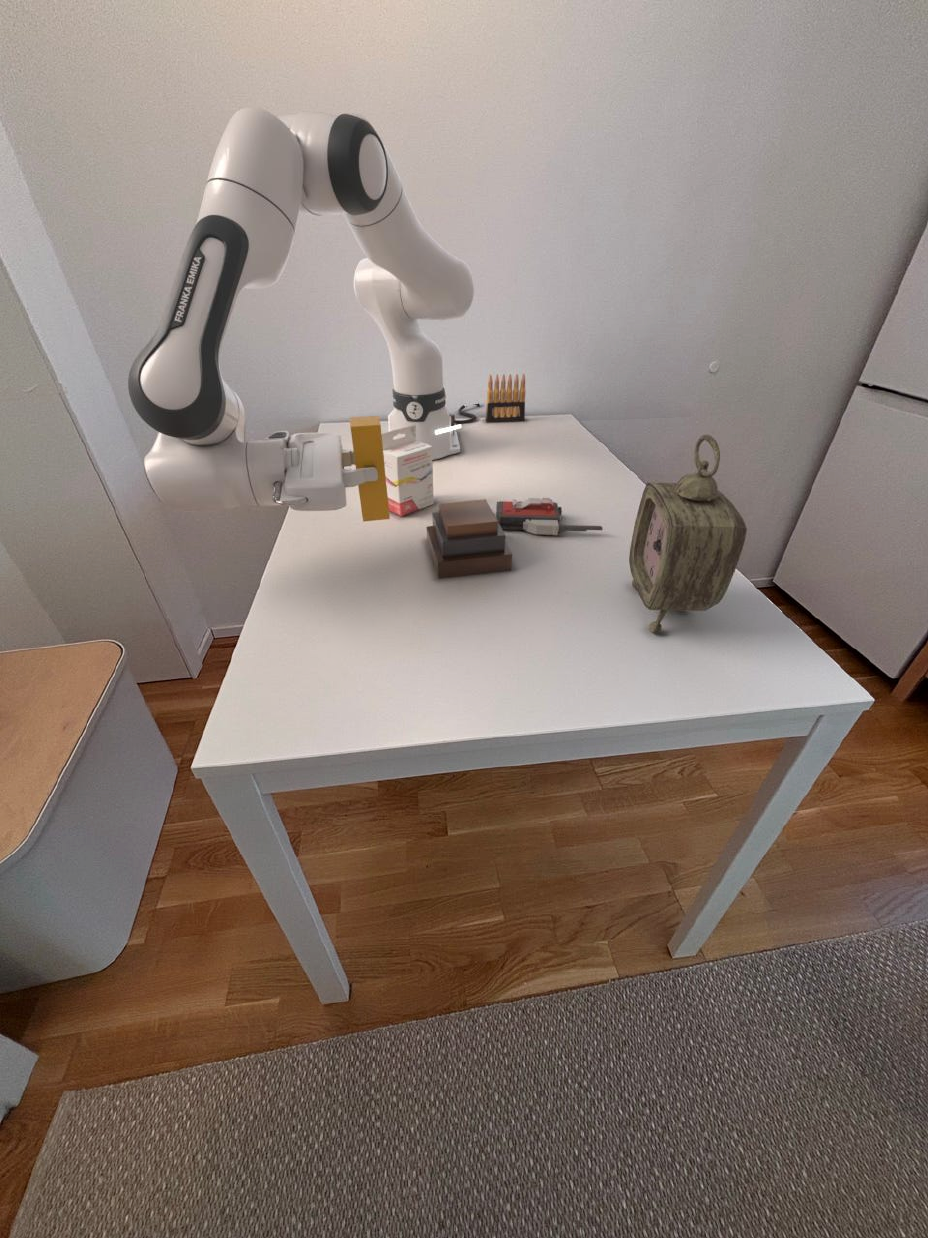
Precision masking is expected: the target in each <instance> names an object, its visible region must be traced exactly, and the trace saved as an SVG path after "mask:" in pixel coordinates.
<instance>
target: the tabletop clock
mask: <svg viewBox="0 0 928 1238" xmlns="http://www.w3.org/2000/svg"><path fill="white" fill-rule="evenodd" d="M704 441H706V442H707V443H708V444H709V445H710V446H711V448H712V451H713V456H714V464H713V465H714V466H713V469H712V471H709V470H708V468H709V464H710V463H709V461H707V460H701V458H700V455H699V451H700V446H701V444H702V443H703V442H704ZM693 460H694V465H695V467H696V469H697V471H696V472H690V473H688V474H685V475H684V476H682V477H681V478H680V479H679V480H677V482H647V483H646V484H645V486H644V489H643V493H642V495H641V498H640V503H639V506H638V509H637V513H636V518H635V521H634V527H633V532H632V536H631V543H630V548H629V556H628V558H629V559H628V562H629V569H630V573H631V577H632V580H631V586H632V587H633V588H634V589H636V591H637V593H638V595H639V597H640V599H641V601H642V603H643V605H644V607H645V608H646V609H648V610H650V611H659V612H658V615H657V618H656V621H652V622H650V624H649V627H648V629H649V631H650V632H651V633H652V634H658V633H660V632H661V631H662V628H663V627H662V624H661V622H662V621H663V620H664V618H665V616H666V614H667V613H668V612H669V611H677V612H678V611H687V612H688V611H690V612H691V611H693V612H694V611H695V612H706V611H708V610H709V609H711V608H713V607H715V606H716V605H718V604H720V603H721V601H722V600H723V599H724V597H725V595H726V593H727V591H728V588H729V586H730V583H731V582H732V579H733V576H734V574H735V573H736V569H737V566H738V564H739V560H740V557H741V554H742V551H743V548H744V545H745V541H746V536H747V530H748V529H747V526H746V521H745V520H744V517H743V516H742V515H741V513H740V512H739V511H738V509H737V508H736V506H735V505H734V504H733V502H732V501H731V500H730V499H729V498H728V497H727V496H725V494H724V493H723V492H721V491H720V490H719V489H718V488H719V487H718V484H717V483H718V482H717V481H716V480H715V478H714V476H715V475H716V473H717V472H718V469H719V465H720V462H721V450H720V447H719V443H718V442H717V440H716V439H715V438H714V437H713V436H712V435H710V434H703V435H701V436H700V437H699V438H698V440H697V441H696V444H695V446H694V459H693Z"/></svg>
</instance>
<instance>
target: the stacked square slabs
mask: <svg viewBox="0 0 928 1238" xmlns="http://www.w3.org/2000/svg"><path fill="white" fill-rule="evenodd" d="M431 514H432V515H431V517H432V518H431V519H432V525H427V526H426V528H425V531H426V542H427V546H428V549H429V552H430V557H431V559H432V562H433V566H434V570H435V573H436V576H437V579H448V578H456V577H465V576H475V575H483V574H491V573H499V572H508V571H512V565H513V553H512V551H511V549H510V548H509V546H508V544H507V542H506V534H505V532H504V529H502V528H501V526H500V525H499V523H498V520H497V518H496V514H495V513H494V511H493V509H492V508H491V506H490V503H489V502H488V500H487V499H486V498H484V499H475V500H474V499H473V500H464V501H463V500H462V501H451V502H444V503H438V511H437V512H436V511H435V512H432V513H431Z"/></svg>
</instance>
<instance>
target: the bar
mask: <svg viewBox="0 0 928 1238" xmlns="http://www.w3.org/2000/svg"><path fill="white" fill-rule="evenodd" d="M349 427H350V428H349V429H350V435H351V443H352V450H354V457H355V465H354V466H355V469H359V468H364V466H366V465H375V466H376V467H377V472H378V479H377V480H376V481H368V482H364V483H362V484H360V485H357V487H358V493H359V494H358V495H359V502H360V509H361V517H362V522H373V521H382V520H390V511H389V506H388V496H387V485H386V475H385V465H384V455H383V445H382V426H381V422H380V416H379V415H373V416H371V415H370V416H356V417H355V416H354V417H349Z"/></svg>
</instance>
